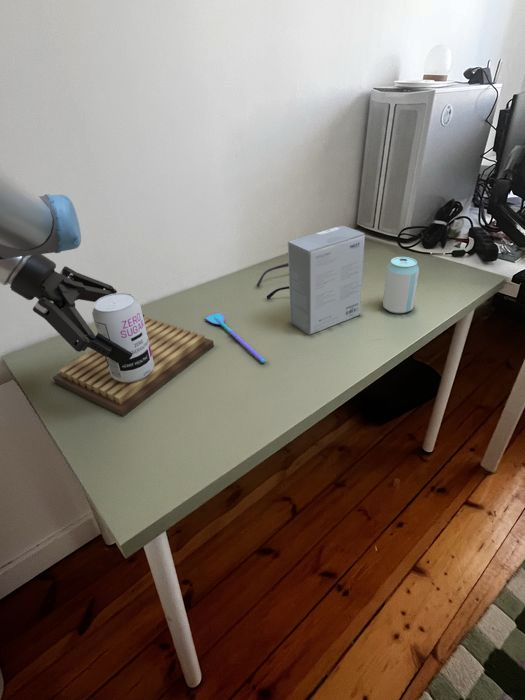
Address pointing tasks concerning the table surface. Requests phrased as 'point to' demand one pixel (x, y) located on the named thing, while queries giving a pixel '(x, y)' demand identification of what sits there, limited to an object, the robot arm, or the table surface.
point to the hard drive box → (325, 278)
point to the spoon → (232, 333)
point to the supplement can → (124, 335)
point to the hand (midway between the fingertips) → (134, 339)
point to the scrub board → (169, 360)
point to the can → (400, 285)
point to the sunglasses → (278, 288)
